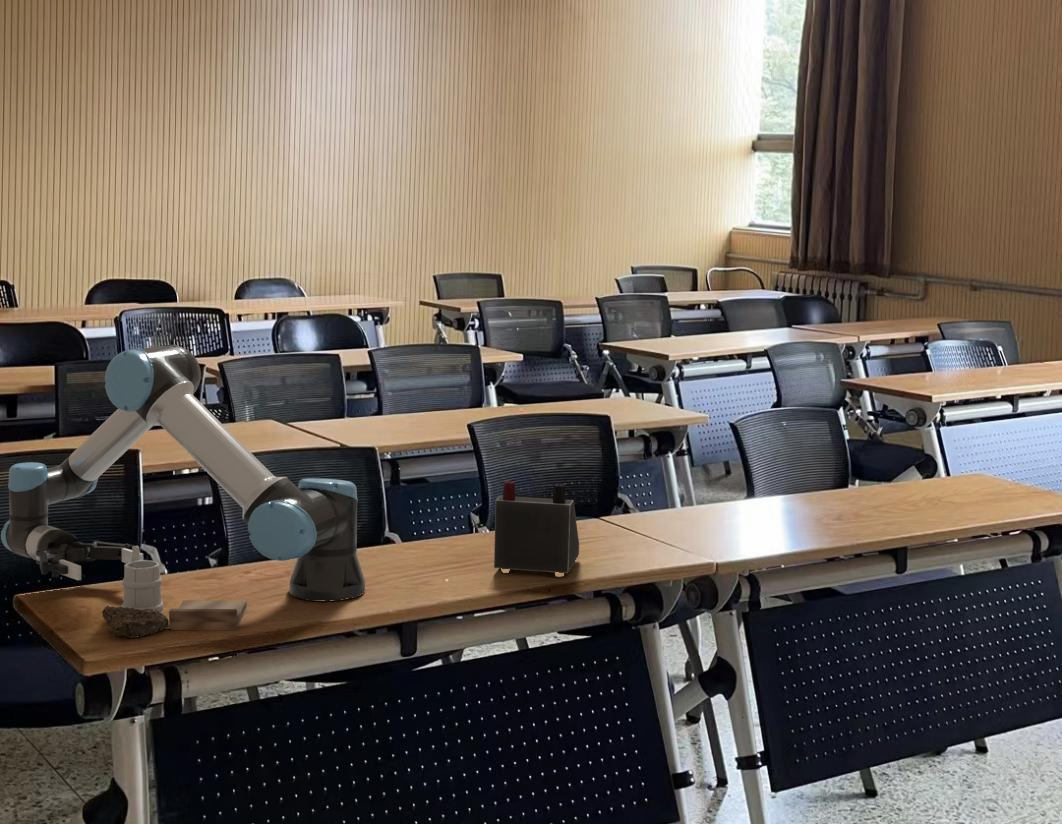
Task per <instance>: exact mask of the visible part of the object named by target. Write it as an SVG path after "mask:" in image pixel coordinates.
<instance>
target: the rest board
mask: <svg viewBox="0 0 1062 824" xmlns="http://www.w3.org/2000/svg"><path fill="white" fill-rule="evenodd" d="M247 602H248V601H247V600H199V599H198V600H196V599H195V600H188V599H187V600H185V599H184V600H182V602H181V603H180V605H179V606H178V608H170V609H169V610H168V621H169V627H168V629H171V630H170V631H173V630H174V631H175V630H176V631H181V630H182V631H192V630H193V631H236V630H237V629H238V627H239V625H240V622H241V621H242V618H243V617H244V615H245V613H244V612H246V611H247V609H246V608H247V606H248V605H247V604H248V603H247ZM245 610H246V611H245ZM243 614H244V615H243Z"/></svg>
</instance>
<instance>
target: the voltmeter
mask: <svg viewBox="0 0 1062 824" xmlns="http://www.w3.org/2000/svg"><path fill="white" fill-rule="evenodd" d="M552 493H553V494H552V496H540V495H538V496H537V495H526V494H525V495H524V494H516V482H515V481H510V480H506V481H503V490H502V495H499V496H498V497H497V498H496V499H495V502H494V503H495V506H494V507H495V509H494V510H495V512H494V513H495V514H494V515H495V516H494V555H493V568H494V569H500V568H502V569H511V570H520V571H532V572H534V571H535V572H548V573H554V572H559V573H565V574H569V573H570V571H569V570H571V569H572V568H573V566H574V564H575V563H574V562H576V561H577V559H578V557H579V556H580V540H579V539H580V538H579V531H578V524H577V517H576V516H577V515H576V509H575V502H574V501H575V500H574V499H568V497H566V485H564V484H561V483H560V484H559V483H557V484H553V492H552ZM578 555H579V556H578ZM576 558H577V559H576ZM575 560H576V561H575ZM572 565H573V566H572ZM571 567H572V568H571ZM568 572H569V573H568Z"/></svg>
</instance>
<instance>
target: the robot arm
mask: <svg viewBox="0 0 1062 824" xmlns="http://www.w3.org/2000/svg"><path fill="white" fill-rule="evenodd" d="M201 371H202V370H201V366H200V364H199V361H198V360H197V358H196V357H195V355H194V354H193V353H192V352H190V351H189V350H188V349H187V348H184V347H182V346H179V345H176V344H165V345H158V346H151V347H142V348H139V347H138V348H136V347H135V348H130V349H128V350H124V351H122V352H120V353H118V354H116V355H115V356H114V357H113V358H112V359H111V360H110V362H109V363H108V365H107V367H106V369H105V375H104V380H105V384H104V388H105V391H106V392H105V393H106V395H107V397H108V399H109V401H110V402H111V404H112V405H114V406H115V407H116V408H117V409H116V410H115V411H114V412H113V413H112V414H111V415H110V416H109V417H108V418H107V419H106V420H105V421H104V422H103V423H102V424H100V426H98V428H96V430H94V431H93V432H92V434H91V435H89V436H88V437H87V438H86V440H84V441H82V443H81V444H80V445H79V446H78V447H77V448H76V449H75V450H74V451H73V452H72V453H71V454H70V455H69V456H68V457H67V458H66V459H65V460H64V461H63V462H62V463H61V464H59V465H56V466H52V467H48V468H47V465H46V464H44V463H41V462H33V461H31V462H21V463H20V462H19V463H16V464H13V465H12V466H11V467H10V468H9V470H8V471H9V472H8V484H7V487H8V499H9V500H8V505H9V506H8V507H9V520H8V521H6V522H5V524H4V525H3V528H2V529H1V533H0V540H1V542H2V544H3V546H4V547H5V548H6V549H7V550H9V551H10V552H12V553H13V554H15V555H18V556H21V557H25V558H29V559H31V560H34V561H35V563H36V564H37V565H38V566H39V568H40V573H41V575H45V576H46V575H48V574H49V572H51V577H52V578H59V575H62V576H65V577H67V578H70V579H73V580H76V581H82V566H81V565H79V564H77V563H81V562H94V561H95V560H108V561H109V560H110V561H111V560H112V561H121V562H122V563H123V564H127V563H129V562H132V547H133V546H135V545H134V544H129V543H115V542H113V543H112V542H105V541H100V540H96V539H95V540H92V542H91V543H90V542H86V543H85V542H82V541H79V540H78V538H77V537H76V536H75V535H74V534H73V533H71V532H69V531H67V530H66V531H65V530H62V529H60V528H57V527H54V526H52V525H49V521H48V519H49V518H48V517H49V505H52V504H56V503H60V502H64V501H67V500H71V499H77V498H81V497H83V496H86V495H87V494H90V493H91V492H93V491H95V489H96V487H97V484H98V482H99V478H100V476H102V474H103V473H105V472H106V471H107V470H108V469H109V468H110V467H111V466H112V465H113V464H114V463H115V462H116V461H118V460H119V458H121V457H122V456H123V455H124V454H125V453H126V452H128V450H129V449H131V447H132V446H133V445H134V444H136V443H137V441H139V440H140V439H141V438H142V437H143V436H144V435H145V434H146V433H147V432H148V431H149V430H151V429H152V428H153V427H156V426H160V427H162V429H164V431H165V432H167V434H169V435H170V437H172V439H174V441H176V443H177V444H178V445H179V446H180V447H181V448H182V449H184V451H185V452H186V453H188V454H189V456H190V457H191V458H192V459H194V461H195V462H196V463H197V464H198V465H199V466H200V467H202V469H203V470H204V471H205V472H207V474H208V475H209V476H210V477H211V478H212V479H213V480H214V481H215V482H216V483H217V484H218V485H219V486H220V487H222V489H223V490H224V491H225V492H226V493H227V494H228V495H229V496H230V497H231V498H232V499H233V500H234V501H235V502H236V503H237V504H238V505H239V506H240V507H241V509H242V521H243V522H245V524H246V525H247V531H248V533H249V536H248V537H249V539H250V542H251V544H252V545H253V547H254V548H255V549H256V551H257V552H258V553H260V554H261V555H262V556H264V557H266V558H267V559H270V560H272V561H273V560H274V561H281V562H282V561H283V562H284V561H290V560H295V559H296V561H295V564H294V568H293V570H292V573H291V576H290V580H289V594H290V595H291V596H292V595H293V596H292V597H295V598H297V599H300V598H301V599H300V600H304V599H306V600H305V601H311V600H325V601H324V602H331V601H330V600H340V601H342V600H341V599H346V598H352V597H355V598H357V597H356V596H358V595H360V594H362V593H363V594H365V592H366V580H365V577H364V573H363V570H362V567H361V564H360V563H361V562H360V561H359V557H358V554H357V552H358V550H357V543H358V541H357V539H358V533H357V532H358V502H359V498H358V493H357V486H356V484H354V482H352V481H348V480H343V479H336V478H335V479H334V478H316V477H315V478H313V477H312V478H310V477H308V478H301V479H300V480H299V481H298V486H296V485H295V484H294V483H293V482H292V481H291V480H290V479H289V478H288V477H287V476H275V475H274V474H273V473H272V472H271V471H270V470H269V468H267V467H266V466H265V465H264V464H263V463H261V461H260V460H259V459H258V458H256V456H255V455H254V454H253V453H252V452H251V451H250V450H248V448H247V447H246V446H244V444H243V443H242V442H241V441H240V440H238V438H237V437H236V436H235V435H234V434H232V432H231V431H230V430H228V428H227V427H226V426H225V425H224V424H223V423H221V421H220V420H218V418H216V416H215V415H214V414H212V413H211V412H210V410H208V408H207V407H205V405H203V403H202V402H201V401H200V400H198V398H197V397H196V396H194V394H195V392H196V391H197V390H198V388H199V386H200V382H201V379H202V378H201V376H202V375H201V374H202V372H201ZM88 555H89V556H88ZM140 560H144V553H142V552H140ZM364 591H365V592H364ZM363 594H362V595H363ZM360 596H361V595H360ZM358 597H359V596H358ZM307 599H308V600H307ZM352 599H353V598H352Z"/></svg>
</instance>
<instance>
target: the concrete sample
mask: <svg viewBox="0 0 1062 824" xmlns="http://www.w3.org/2000/svg"><path fill="white" fill-rule="evenodd" d="M101 614H102V618H103V620H104V621H105V623H106V624H107V625H108V627H110V633H111V634H113V635H115V636H123V637H126V638H129V639H136V638H142V637H145V636H144V635H147V636H150V634H151V635H152V633H153V634H155V633H157V632H162V631H164V629H169V617H167V616H166V615H165V614H164V613H163V612H162V613H159V611H158V610H154V609H153V608H149V609H143V610H140V609H134V608H128V607H126V608H123V607H122V606H111V605H110V606H109V605H106V606H105V607H104V608H103V610H102V611H101ZM148 634H149V635H148ZM137 636H139V637H137ZM133 637H134V638H133Z"/></svg>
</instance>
